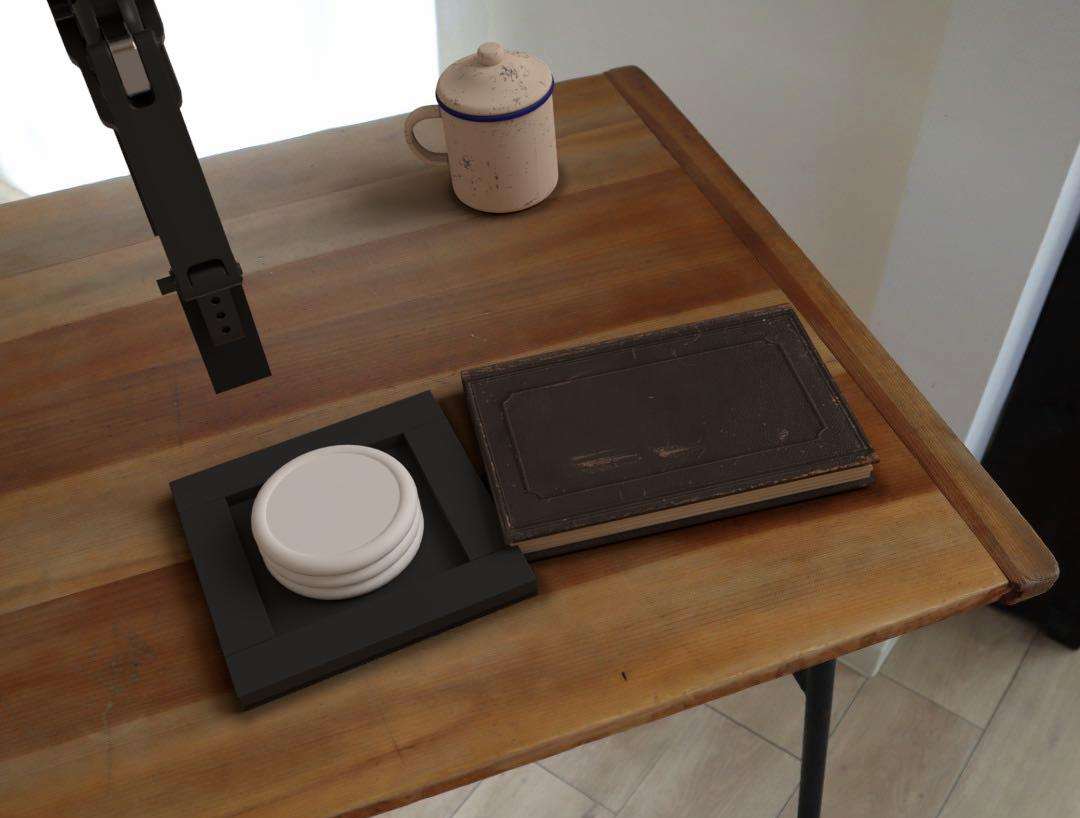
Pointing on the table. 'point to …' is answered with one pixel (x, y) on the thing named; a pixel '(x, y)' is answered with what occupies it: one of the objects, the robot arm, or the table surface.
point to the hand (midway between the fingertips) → (208, 298)
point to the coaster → (338, 522)
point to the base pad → (363, 621)
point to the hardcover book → (662, 431)
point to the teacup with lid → (494, 129)
